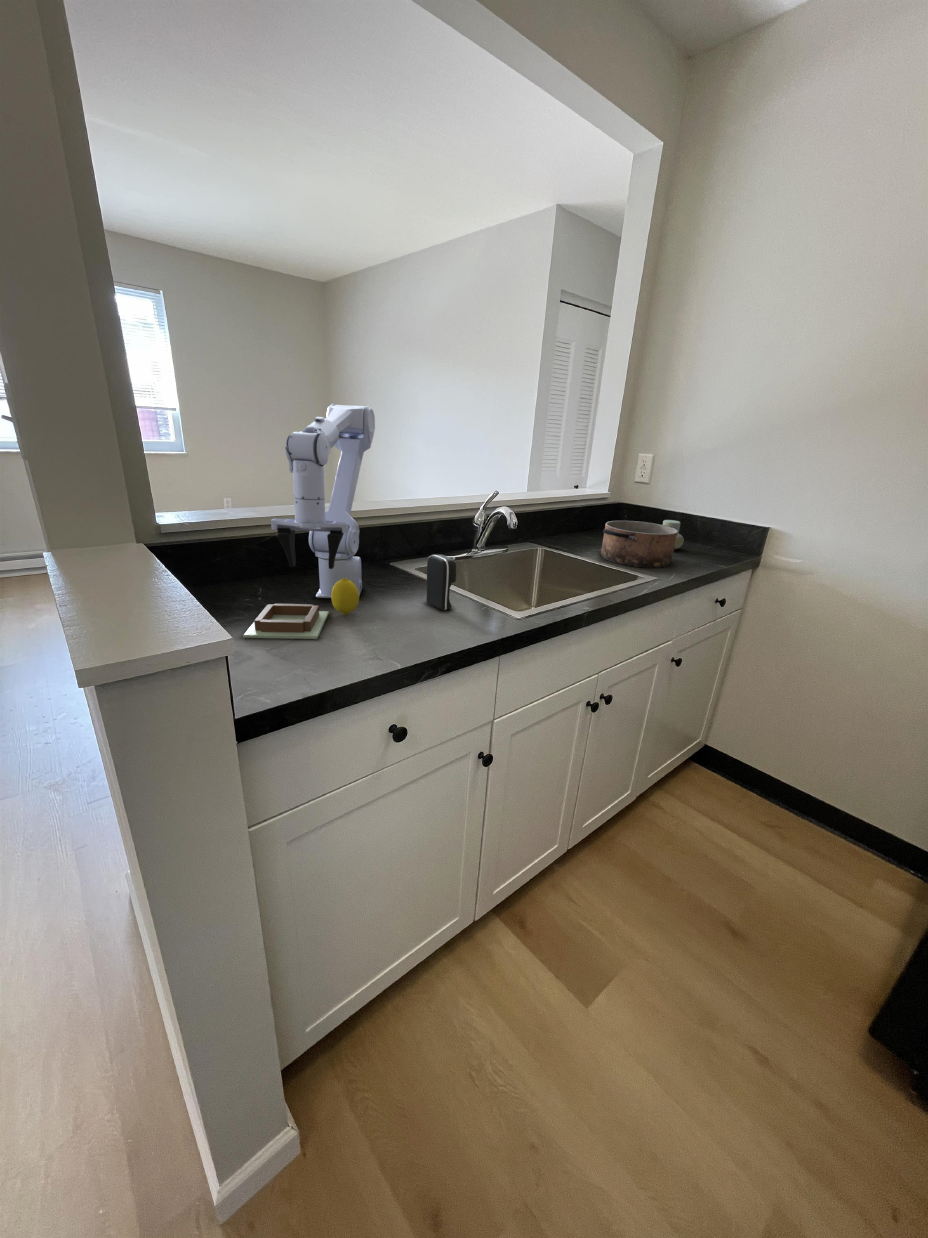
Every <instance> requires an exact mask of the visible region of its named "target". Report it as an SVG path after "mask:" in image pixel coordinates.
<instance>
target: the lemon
mask: <svg viewBox="0 0 928 1238" xmlns="http://www.w3.org/2000/svg"><path fill="white" fill-rule="evenodd" d="M330 599H331V604H332V606H333V608H334V609H335V610H336V611H337V612H339V613H342V614H343V616H348V615H349V614H350V613H352V612H354V611H355V610H356V608H357V607H358V605H359V601H360V596H359V592H358V589H357V586H356V585H355V584H354V583H353V582H352V581H350V580H347V578H343V579H342V580H339V581H338V582H336V583H335V585H334V586H333V588H332V593H331V598H330Z"/></svg>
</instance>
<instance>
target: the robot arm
mask: <svg viewBox="0 0 928 1238" xmlns="http://www.w3.org/2000/svg"><path fill="white" fill-rule="evenodd" d="M313 419H314V421H312V422H311V423H310V424H309V425H307V426H305V428H304V429H303V430H301V431H293V432H291V434H289V435H288V436H287V437H286V441H285V446H284V449H285V456H286V458H287V460H288V464H289V466H288V468H289V472H290V473H291V474H292V486H293V507H294V518H272V519H271V520H270V527H271V530H272V531H276V533H275V536H276V538H277V540H278V541H279V543H280V544H281V546H282V548H283V550H284V552H285V555H286V558H287V561H288V565H289V568H294V567H296V565H297V559H296V547H295V546H296V544H295V543H296V542H295V541H296V531H299V532H300V531H302V532H309V533H308V545H309V549H311V551H312V553H314V555H315V557H317V558H318V574H319V575H318V576H319V589H318V591H317V592H316V594H315V598H317V599H331V593H332V588H333V586H334V585H335V583H336V582H338V581H339V580H342V579H343V578H347V580H350V581H352V582H353V583H354V584H355V585H356V586H357V589H358V592H359V597H360V596H361V592H362V589H363V581H362V580H363V579H362V559H361V557H360V556H355V555H356V554H357V552H358V550H359V547H360V546H359V544H360V527H359V523H358V522H357V521H356V520H355V518H353V517H352V516H351V513H352V508H353V504H354V499H355V494H356V489H357V485H358V482H359V481H358V480H359V475H360V470H361V465H362V462H363V457H364V453H365V452H366V451H368V450H369V449H371V447H372V443H373V439H374V435H375V430H376V417H375V411H374V410H373V408H372V406H370V405H366V406H365V405H346V404H336V403H331V404H329V406H327V410H326V417H323V416H316V417H315V418H313ZM333 447H335V448H336V449H338V450H339V451H340V456H339V461H338V465H337V470H336V473H335V477H334V478H335V479H334V483H333V487H332V491H331V495H330V501H329V505H328V508H327V510H326V494H325V465H327V464H328V461H329V456H330V454H331V449H332V448H333Z"/></svg>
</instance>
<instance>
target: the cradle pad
mask: <svg viewBox="0 0 928 1238" xmlns="http://www.w3.org/2000/svg"><path fill="white" fill-rule="evenodd" d="M329 615H330V612H329V611H327V610H326V611H324V610H320V605H314V604H309V603H308V604H307V603H274V604H269V603H268V604H267V605H266V606H265V607H264V608H263V609H262V610H261V612H260V613H259V614H258V615H257V616H256V618H255V619H254V621H253V622H252V624H251V625H250V626H249V627H248V628H247V630H246V631H245V632H244V633H243V634H242V637H243V639H286V640H288V639H291V640H292V639H293V640H295V639H298V640H318V638H319V635H320V634H321V632H322V629H323V627H324V625H325V623H326V621H327V618H328V617H329Z"/></svg>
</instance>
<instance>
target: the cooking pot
mask: <svg viewBox="0 0 928 1238" xmlns="http://www.w3.org/2000/svg"><path fill="white" fill-rule="evenodd" d="M602 532H603V538H602V545H601V550H600V555H601V557H602V558H603V559H605V560H606V561H609V562H612V563H614V564H618V565H622V566H629V567H634V568H644V569H660V568H661V569H662V568H665V567H668V566H669V565H670V564H672V561H673V556H674V551H675V550H674V546H675V542H676V537H677V532H678V531H677V530H676V528H675V527H671V526H666V525H663V524H659V523H653V522H647V521H638V520H637V521H635V520H611V521H607V522H606V523H605V525H604V529H603V531H602Z"/></svg>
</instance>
